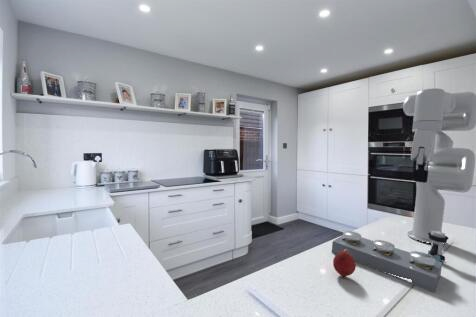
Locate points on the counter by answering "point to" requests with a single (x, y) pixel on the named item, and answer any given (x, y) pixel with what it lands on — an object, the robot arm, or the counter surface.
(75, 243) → the counter surface
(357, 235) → the knob
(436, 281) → the knob panel
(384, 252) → the knob middle
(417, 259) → the knob
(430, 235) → the push button
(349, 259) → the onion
